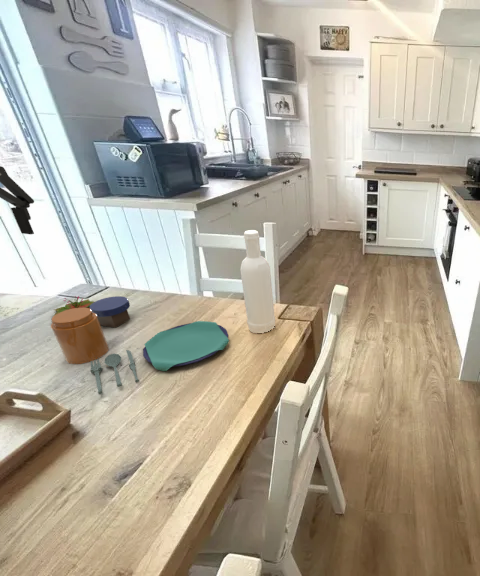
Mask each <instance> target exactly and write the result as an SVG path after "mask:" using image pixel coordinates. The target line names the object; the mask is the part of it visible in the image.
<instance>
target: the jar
mask: <svg viewBox="0 0 480 576" xmlns="http://www.w3.org/2000/svg"><path fill="white" fill-rule="evenodd" d="M55 314H56V313H55ZM55 314H54V315H55ZM54 315H52V316H53V317H52V318H51V324H50V328H51V331H52V333H53V336H54V337H55V339H56V342H57V344H58V346H59V348H60V350H61V353H62V355H63V357H64V359H65V361H66V362H67V364H69V365H82V364H88V363H91V361H92V362H94V360H95V361H97V359H98V360H99V359H100V358H102V357H103V356H105V355H106V354H107V353H108V352H109V351H110V346H109V343H108V342H107V338H106V335H105V333H104V330H103V328H102V326H101V325H100V322H99V320H98V317H97V315H96V314H95V313H93V312H92V310H91V309H89V308H73V309H69V310H65V311H63V312H60V313H58V314H56V315H55V316H54Z"/></svg>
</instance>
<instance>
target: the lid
mask: <svg viewBox="0 0 480 576" xmlns="http://www.w3.org/2000/svg"><path fill="white" fill-rule="evenodd" d="M130 306H131V304H130V301H129V299H128V297H125V296H119V295H116V296H108V297H104V298H101V299H98V300H95V301H94V303H92V304H91V305H90V309H91V310H92V312H93V313H95V314H96V315H97V317H107V316H112V315H116V314H119V313H122V312H124V311H126V310H127V311H128V309H130Z"/></svg>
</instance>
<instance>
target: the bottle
mask: <svg viewBox="0 0 480 576" xmlns="http://www.w3.org/2000/svg"><path fill="white" fill-rule="evenodd" d="M260 238H261V236H260V234H259V231H257V230H255V229H249V230H245V231H244V232H243V239H244V244H245V253H246V256H245V258H244V259H243V260H242V261H241V264H240V268H239V269H240V278H241V284H242V290H243V291H242V293H243V300H244V307H245V315H246V324H247V328H248V331H249V330H250V331H249V332H251V333H253V334H257V333H262V334H265V333H264V332H267V333H269V332H271V331H272V330H274V329H275V327H276V315H275V307H274V296H273V295H274V294H273V287H272V286H273V285H272V273H271V266H270V263H269V262H268V260H267V259H266V258H265V257H264V256H262V253H261V243H260ZM274 326H275V327H274ZM273 328H274V329H273ZM271 329H272V330H271ZM270 330H271V331H270ZM268 331H269V332H268Z"/></svg>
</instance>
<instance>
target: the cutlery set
mask: <svg viewBox="0 0 480 576" xmlns="http://www.w3.org/2000/svg"><path fill="white" fill-rule="evenodd" d="M229 342H230V340H229V333H228V330H227V328H225V327H223V326H222V325H220V324H218V323H217V322H216V321H206V320H205V321H204V320H197V321H193V322H189V323H184V324H180V325H176V326H174V327H170V328H168V329H166V330H162V331H159V332H156V333H155V334H154V336H152V337H151V338H150V339H149V340H147V341H146V342H145V343H144V348H143V351H142V352H143V353H142V357H143V358H144V359H145V360H146V361H147V362H148V363H150V364H152V366H153V368H154V369H155V370H158V371H162V372H167V371H168V370H169V369H171V368H173V367H182V366H187V365H192V364H195V363H198V362H201V361H204V360H205V359H208V358H210V357H212V356H213V355H215V354H216V353H218V352H220V351H223V350H224V349H225V348H226V347H227V345H229ZM125 352H126V355H127V358H128V361H129V364H128V367H129V369H130V370H131V371H132V374H133V376H134V379H135V380H134V382H135V383H139V382H140V379H139V378H138V375H137V372H136V371H137V370H136V369H137V368H136V367H137V366H136V363H135V361H134V357H133V354H132V352H131V350H129V349H126V351H125ZM121 362H122V356H121V355H120V354H118V353H114V352H113V353H111V354H108V355H107V356H106V357H105V358H104V362H103V363H104V364H105V365H106V366H107V367H111V368H113V370H114V376H115V380H116V386H117V388H120V387H123V383H122V381H121V377H120V375H119V372H118V368H117V367H118V365H119V364H121ZM102 371H103V368H102V365H101V363H100V360H99V358H98V359H96V360H93V361H91V362H90V373H91V374H94V377H95V381H96V382H95V383H96V389H97V393H98V395H99V396H100V395H103V394H104V392H103V388H102V382H101V377H100V372H102Z"/></svg>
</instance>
